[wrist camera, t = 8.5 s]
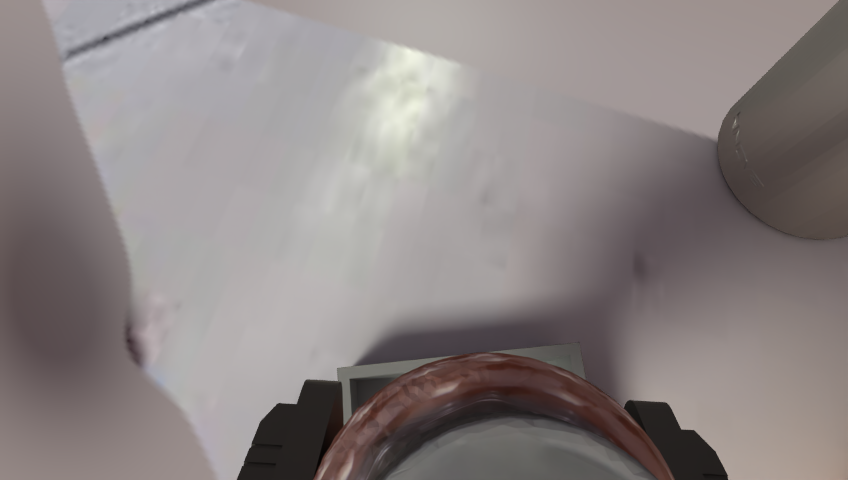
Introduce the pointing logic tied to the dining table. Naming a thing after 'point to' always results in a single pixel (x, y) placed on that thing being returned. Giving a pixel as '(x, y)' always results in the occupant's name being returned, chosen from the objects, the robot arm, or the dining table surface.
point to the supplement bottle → (491, 427)
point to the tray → (374, 377)
